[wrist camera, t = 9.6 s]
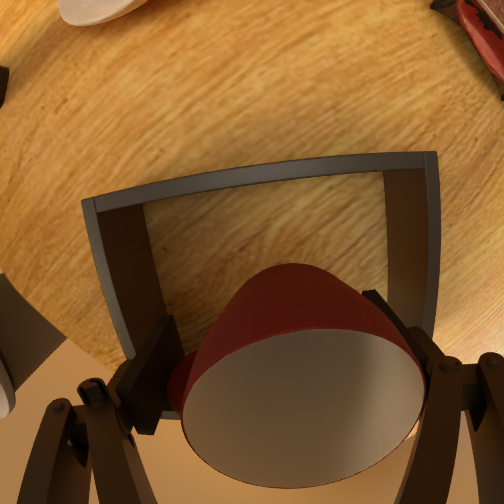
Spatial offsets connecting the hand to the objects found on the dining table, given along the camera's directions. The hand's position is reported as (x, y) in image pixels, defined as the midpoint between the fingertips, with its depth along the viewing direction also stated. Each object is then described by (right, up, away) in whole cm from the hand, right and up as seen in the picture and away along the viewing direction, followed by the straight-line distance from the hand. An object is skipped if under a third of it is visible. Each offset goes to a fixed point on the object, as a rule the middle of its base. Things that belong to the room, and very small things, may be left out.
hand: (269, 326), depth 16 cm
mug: (0, +1, +2) cm, 2 cm away
